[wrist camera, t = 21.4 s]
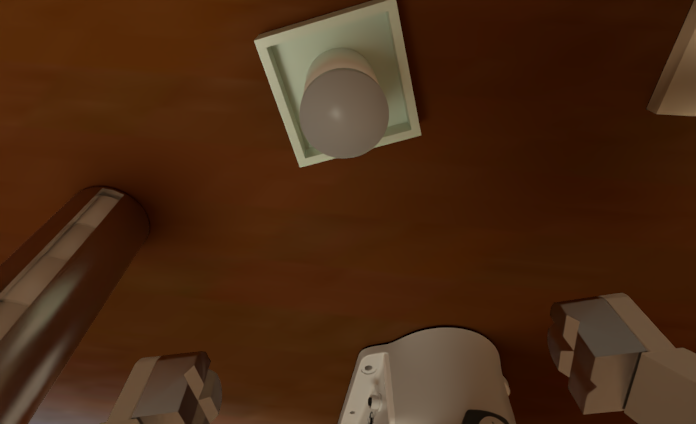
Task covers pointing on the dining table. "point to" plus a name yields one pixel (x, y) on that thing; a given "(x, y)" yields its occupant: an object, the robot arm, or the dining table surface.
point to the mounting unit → (678, 74)
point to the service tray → (341, 32)
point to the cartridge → (343, 105)
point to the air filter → (61, 291)
